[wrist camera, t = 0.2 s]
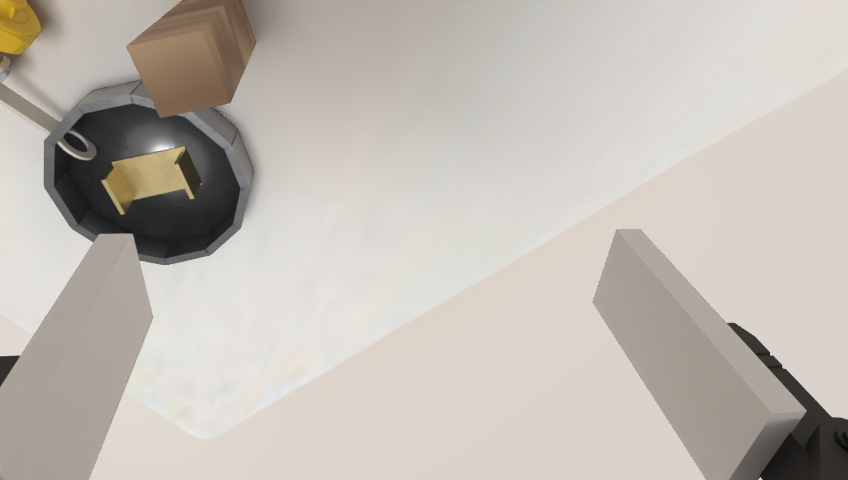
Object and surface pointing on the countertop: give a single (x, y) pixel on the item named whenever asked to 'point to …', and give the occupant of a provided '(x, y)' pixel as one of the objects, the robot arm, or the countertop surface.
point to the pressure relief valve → (11, 33)
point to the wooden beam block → (194, 55)
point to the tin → (149, 175)
